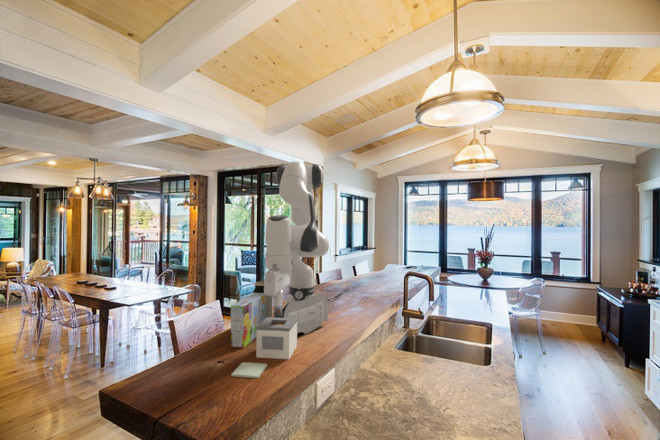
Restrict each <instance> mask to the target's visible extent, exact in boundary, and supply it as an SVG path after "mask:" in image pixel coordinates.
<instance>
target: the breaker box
mask: <svg viewBox="0 0 660 440" xmlns="http://www.w3.org/2000/svg"><path fill="white" fill-rule="evenodd" d="M275 324H281V325H275ZM255 345H256V352H255V353H256V355H255V356H256V358H261V359H279V360H280V359H281V360H290V359H291V357H292V355H293V354H294V352H295V351H296V349H297V347H298V333H297V318H276V317H274V316H272V317H267V318H266V319H265V320H264V321H262V322H261V323H260V324H259V325H258V326H257V337H256V344H255ZM294 350H295V351H294Z"/></svg>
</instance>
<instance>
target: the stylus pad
mask: <svg viewBox="0 0 660 440" xmlns="http://www.w3.org/2000/svg"><path fill="white" fill-rule="evenodd" d="M267 367H268V363H261V362H260V363H259V362H243V361H242V362H241V363H240V364H239V365H238V366H237V368H235V369H234V371H233V372H232V373H231V375H230V376H231V377H237V378H248V379H249V378H252V379H254V378H255V379H259V378H260V376H261V375H262V374H263V372H264V371H265V369H266V368H267Z"/></svg>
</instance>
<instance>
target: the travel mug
mask: <svg viewBox="0 0 660 440" xmlns="http://www.w3.org/2000/svg"><path fill="white" fill-rule="evenodd" d="M253 285H254V289H253V293H264V281H256V282H254V283H253ZM253 293H252V294H253ZM267 317H273V298H272V296H266V318H267Z"/></svg>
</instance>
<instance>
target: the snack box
mask: <svg viewBox="0 0 660 440" xmlns="http://www.w3.org/2000/svg"><path fill="white" fill-rule="evenodd" d="M265 319H266V295H265V294H264V293H252V294H249V295H247V296H246V297H244V298H242V299H241V300H239V301H237V302H235V303H233V304H231V305H230V348H241V349H245V348H246V347H247V345H249V344H250V343H251V342H252V341H254V340H255V339H257V326H258V325H259V324H260V323H261V322H262V321H264V320H265Z"/></svg>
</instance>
